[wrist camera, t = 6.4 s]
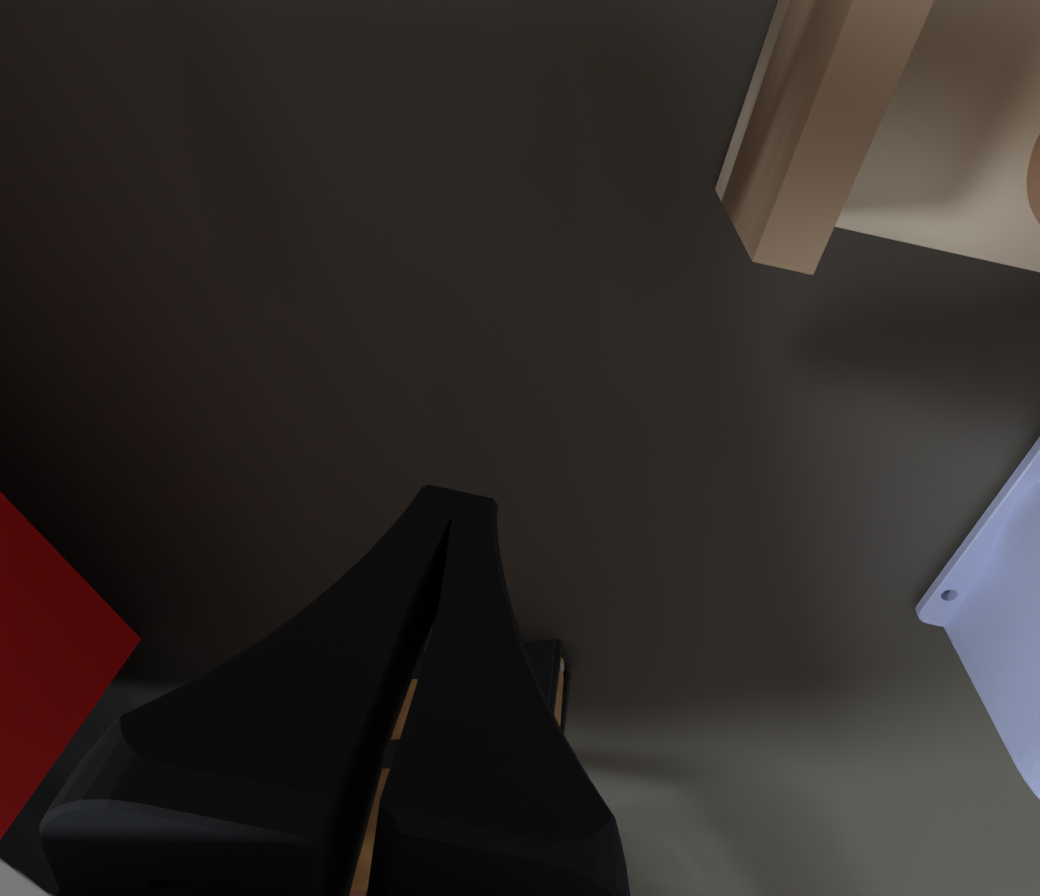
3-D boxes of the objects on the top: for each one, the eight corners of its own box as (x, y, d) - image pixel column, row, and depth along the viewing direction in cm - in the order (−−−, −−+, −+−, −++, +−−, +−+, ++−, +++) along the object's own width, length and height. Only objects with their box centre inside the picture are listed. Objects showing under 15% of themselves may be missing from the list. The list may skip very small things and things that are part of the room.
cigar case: (561, 638, 28) (536, 997, 18) (571, 669, 29) (554, 1026, 19) (321, 664, 31) (185, 993, 21) (338, 692, 32) (216, 1019, 22)
